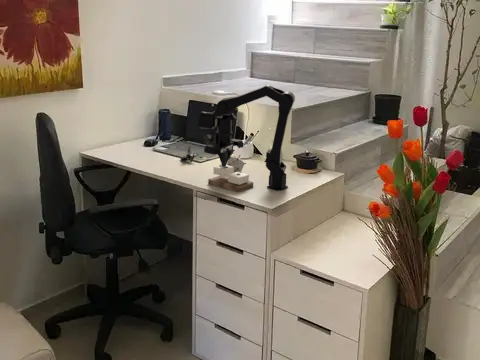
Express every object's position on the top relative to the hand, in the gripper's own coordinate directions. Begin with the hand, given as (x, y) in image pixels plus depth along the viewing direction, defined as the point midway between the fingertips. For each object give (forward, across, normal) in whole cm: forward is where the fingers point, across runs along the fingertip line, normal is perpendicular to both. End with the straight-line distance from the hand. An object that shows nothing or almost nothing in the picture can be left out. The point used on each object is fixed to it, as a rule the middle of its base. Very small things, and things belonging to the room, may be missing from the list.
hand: (223, 166), depth 240 cm
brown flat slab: (+7, 0, +4) cm, 8 cm away
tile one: (+5, 0, +8) cm, 9 cm away
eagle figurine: (+8, -15, -35) cm, 39 cm away
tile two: (+3, 0, 0) cm, 3 cm away
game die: (+8, -15, -6) cm, 18 cm away
